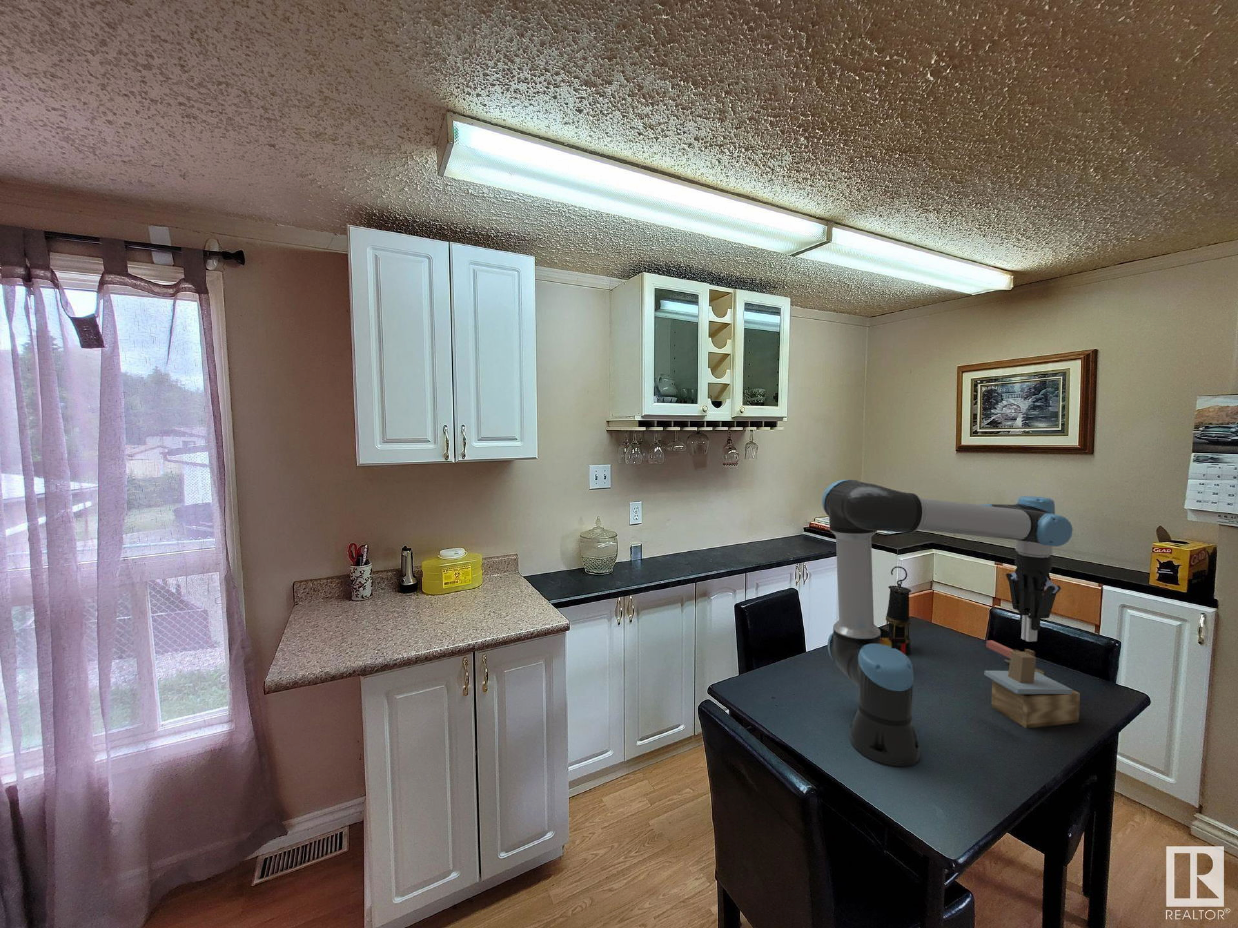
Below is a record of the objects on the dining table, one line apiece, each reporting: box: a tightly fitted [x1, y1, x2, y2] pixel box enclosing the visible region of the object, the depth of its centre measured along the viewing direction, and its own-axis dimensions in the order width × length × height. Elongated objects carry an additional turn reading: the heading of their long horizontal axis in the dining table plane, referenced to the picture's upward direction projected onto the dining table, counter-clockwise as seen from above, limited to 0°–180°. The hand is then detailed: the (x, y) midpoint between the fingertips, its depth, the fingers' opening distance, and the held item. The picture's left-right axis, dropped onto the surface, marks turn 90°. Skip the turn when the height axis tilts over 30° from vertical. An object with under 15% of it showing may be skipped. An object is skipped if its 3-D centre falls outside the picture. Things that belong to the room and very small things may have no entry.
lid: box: [983, 651, 1073, 695], centre depth 130 cm, size 16×10×9 cm, turn 96°
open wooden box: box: [990, 679, 1081, 729], centre depth 131 cm, size 16×10×8 cm, turn 98°
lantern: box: [885, 565, 912, 656], centre depth 171 cm, size 9×9×30 cm
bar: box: [985, 639, 1014, 659], centre depth 145 cm, size 2×13×2 cm, turn 8°
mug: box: [878, 627, 907, 656], centre depth 159 cm, size 10×14×12 cm
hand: (1028, 639), depth 130 cm, fingers closed
